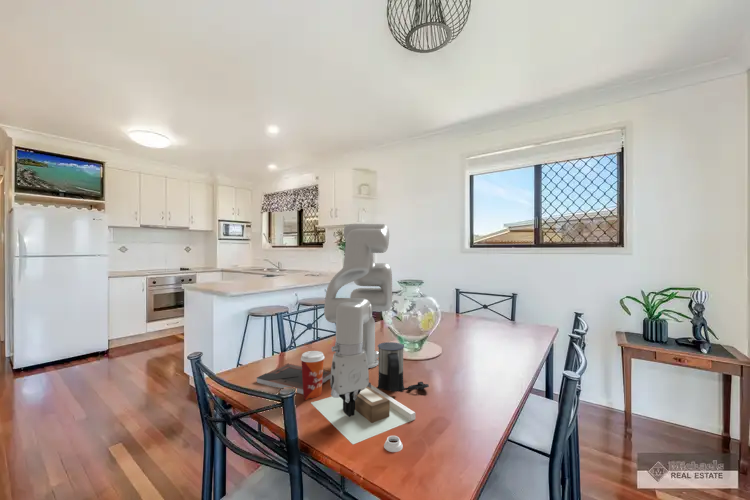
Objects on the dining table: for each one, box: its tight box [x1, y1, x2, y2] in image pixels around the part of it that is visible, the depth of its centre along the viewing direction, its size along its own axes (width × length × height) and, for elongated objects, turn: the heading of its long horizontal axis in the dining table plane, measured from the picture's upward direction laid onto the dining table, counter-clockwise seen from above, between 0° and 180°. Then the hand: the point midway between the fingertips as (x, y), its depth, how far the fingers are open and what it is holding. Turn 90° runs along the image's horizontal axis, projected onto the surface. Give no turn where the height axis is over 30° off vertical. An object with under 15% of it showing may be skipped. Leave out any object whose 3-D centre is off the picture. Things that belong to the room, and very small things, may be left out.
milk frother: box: [377, 341, 430, 393], centre depth 108 cm, size 14×16×15 cm
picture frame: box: [256, 362, 331, 395], centre depth 116 cm, size 16×2×22 cm
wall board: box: [310, 382, 416, 445], centre depth 91 cm, size 20×25×5 cm
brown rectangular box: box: [355, 386, 390, 423], centre depth 91 cm, size 12×6×5 cm, turn 35°
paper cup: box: [300, 350, 325, 401], centre depth 102 cm, size 8×8×14 cm
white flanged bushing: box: [383, 435, 404, 453], centre depth 75 cm, size 5×3×5 cm
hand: (349, 413), depth 87 cm, fingers closed
